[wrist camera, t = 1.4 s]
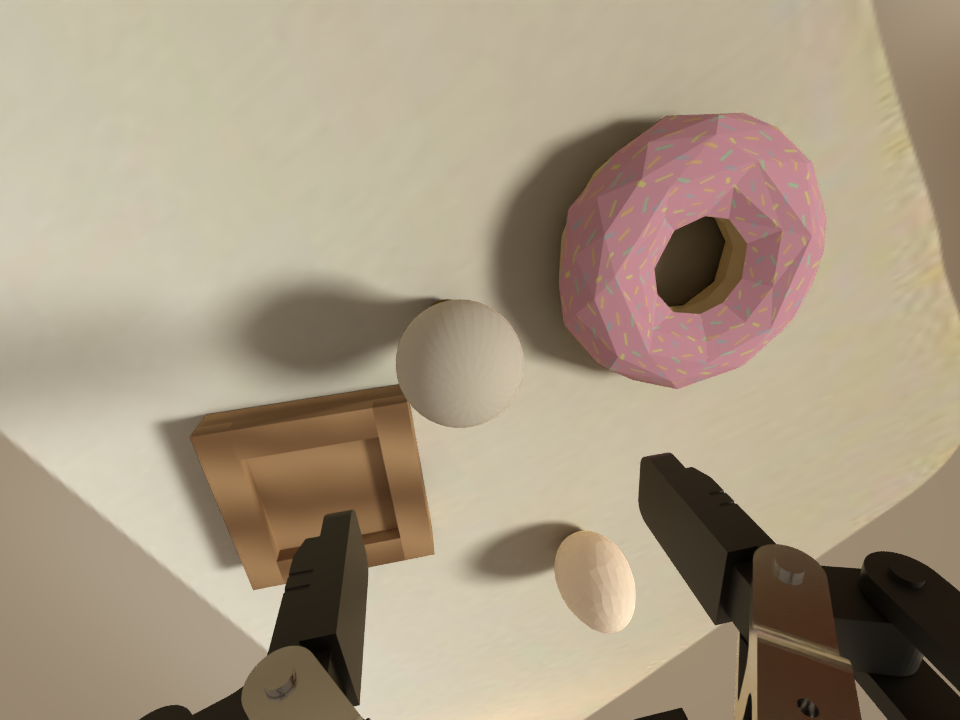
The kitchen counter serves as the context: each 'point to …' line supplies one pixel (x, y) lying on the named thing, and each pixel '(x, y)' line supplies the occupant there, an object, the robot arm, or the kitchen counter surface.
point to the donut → (669, 206)
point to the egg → (595, 581)
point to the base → (317, 477)
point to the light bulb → (459, 363)
